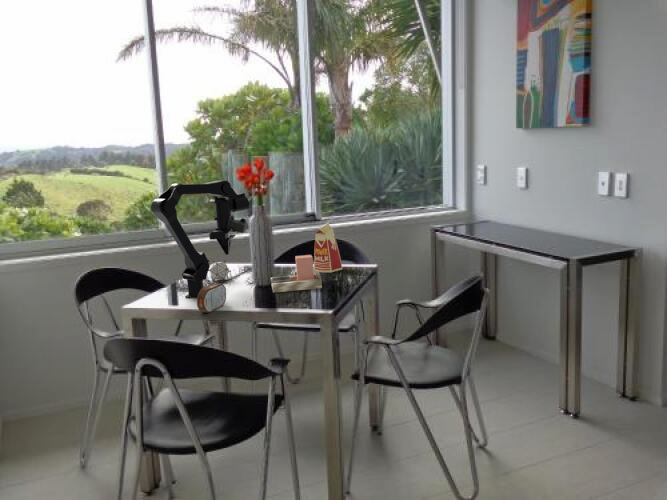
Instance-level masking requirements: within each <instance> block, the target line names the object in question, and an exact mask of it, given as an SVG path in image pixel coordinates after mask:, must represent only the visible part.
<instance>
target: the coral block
mask: <svg viewBox="0 0 667 500" xmlns="http://www.w3.org/2000/svg"><path fill="white" fill-rule="evenodd" d="M294 257H295V258H294V260H295V271H296V275H297V281H301V280H312V279H314V273H315V271H314V256H312V254H305V255H295V256H294Z"/></svg>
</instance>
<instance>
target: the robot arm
mask: <svg viewBox="0 0 667 500" xmlns="http://www.w3.org/2000/svg"><path fill="white" fill-rule="evenodd" d="M202 194H206V195H210V196H212V197H211V199H210V200H209V201H208V202H209V204H214V209H215V217H214V221H216V227H215V228H214V229H215V230H212V231H211V232H210V233H209V234H208V236H209V240H216V241H217V243H218V244H219V246H220V247H221V249H222V251H223V253H224V254H225V255H230V251H231V245H232V241H233V239H234V238H235V237H236V236H237V235H236V234H238V233H239V234H240V233H241V234H243V233H244V232H245V233H246V231H247V228H248V222H247V219H246V218H241V219H235V216H234V215H232V213H236V212H245V211H248V209H249V208H250V201H249V199H248V197H247V196H246V193H244V192H241V193H236V191H235V190H234V188H232V184H231V183H230V182H229V180H218V179H217V180H213V181H208V182H205V183H172V184H171V185H169V187H168V188H167V189H166V190H164V191H163V192H162V193H161V194H160V195H159V196H158V197H157V198H156V199H154V200H152V202H151V205H150V210H151V212H152V214H154V216H155V217H156V218H157V219H158V220H159V221H161V222H162V223H163V224H164V225H165V226H166V228H167V230H168V231H169V233H170V235H171V236H172V237H173V238H172V239H174V241H175V244H176V245H177V246H178V247H179V249H180V251H181V253H182V254H183V257H184V264H185V269H184V270H183V271H182V273H181V277H182V280H186V284H187V292H188V293H187V294H186V295H184V298H186V299H187V298H188V299H189V298H197V297H198V294H199V292H200V290H201V289H202V288H204V287H205V286H204V281H206V280H207V278H208V277H207V276H208V272H210V271H209V270H210V269H211V266H210V260H209V259H208V258H207V255H206V254H205V252H201V251H197V250H196V248H195V246H194V245H193V243H192V241H191V240H190V238H189V236H188V234H187V232H186V231H185V230H184V227H183V226H182V224H181V223H180V221H179V220H178V211H177V208H176V206H177V205H178V204H179V202H180V200H181V197H182V196H183V195H202ZM233 233H236V234H233Z"/></svg>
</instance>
